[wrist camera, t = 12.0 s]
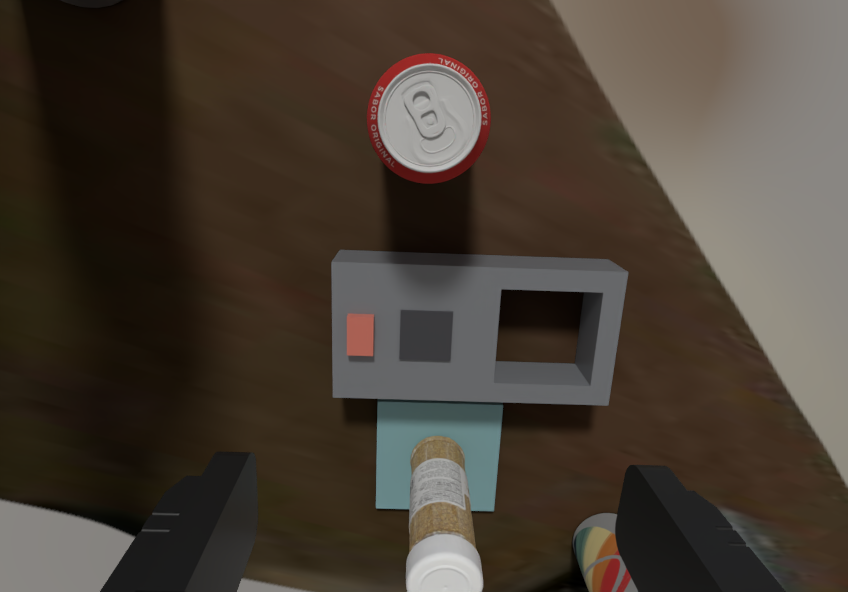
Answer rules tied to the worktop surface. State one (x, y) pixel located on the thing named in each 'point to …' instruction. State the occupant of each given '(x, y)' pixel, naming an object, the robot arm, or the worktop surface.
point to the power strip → (464, 327)
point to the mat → (425, 418)
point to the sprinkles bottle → (441, 521)
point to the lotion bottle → (601, 555)
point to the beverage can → (428, 118)
